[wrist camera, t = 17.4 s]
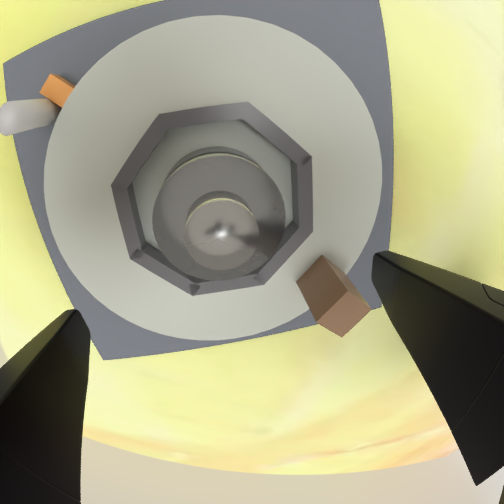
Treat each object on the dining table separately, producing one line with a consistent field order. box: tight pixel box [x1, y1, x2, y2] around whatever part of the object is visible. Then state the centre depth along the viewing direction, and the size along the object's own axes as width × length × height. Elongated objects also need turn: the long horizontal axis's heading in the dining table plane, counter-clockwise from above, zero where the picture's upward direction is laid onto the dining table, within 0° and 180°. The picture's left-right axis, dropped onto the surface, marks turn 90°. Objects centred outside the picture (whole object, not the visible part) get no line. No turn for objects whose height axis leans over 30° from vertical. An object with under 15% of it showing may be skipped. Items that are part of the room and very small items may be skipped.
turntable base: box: [0, 0, 394, 360], centre depth 15 cm, size 24×24×5 cm
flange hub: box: [152, 146, 286, 281], centre depth 14 cm, size 6×6×4 cm
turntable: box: [39, 15, 382, 340], centre depth 15 cm, size 20×22×6 cm
